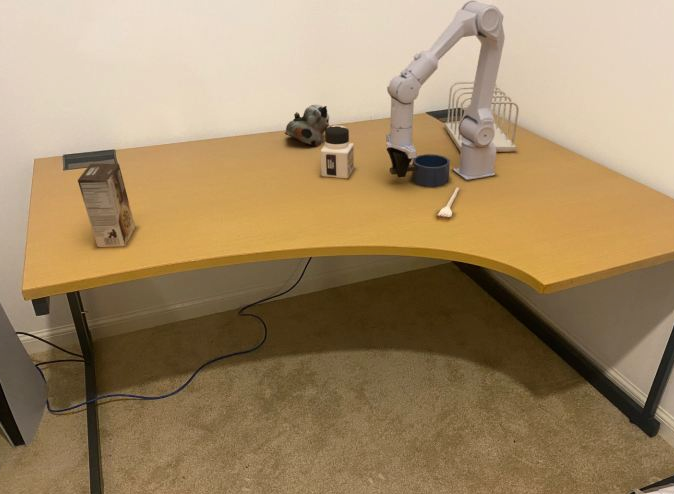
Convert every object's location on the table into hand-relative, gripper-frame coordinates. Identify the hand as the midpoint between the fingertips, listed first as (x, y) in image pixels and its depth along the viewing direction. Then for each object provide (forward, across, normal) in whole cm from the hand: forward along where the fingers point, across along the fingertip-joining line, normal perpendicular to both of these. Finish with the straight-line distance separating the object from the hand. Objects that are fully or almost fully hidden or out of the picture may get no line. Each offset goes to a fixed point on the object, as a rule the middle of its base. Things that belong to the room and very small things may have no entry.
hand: (399, 175), depth 154 cm
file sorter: (+3, -24, +40) cm, 46 cm away
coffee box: (+3, +2, -72) cm, 73 cm away
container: (+3, -15, -12) cm, 19 cm away
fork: (+3, +16, +7) cm, 18 cm away
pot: (+3, 0, +6) cm, 7 cm away
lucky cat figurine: (+3, -44, -13) cm, 45 cm away
